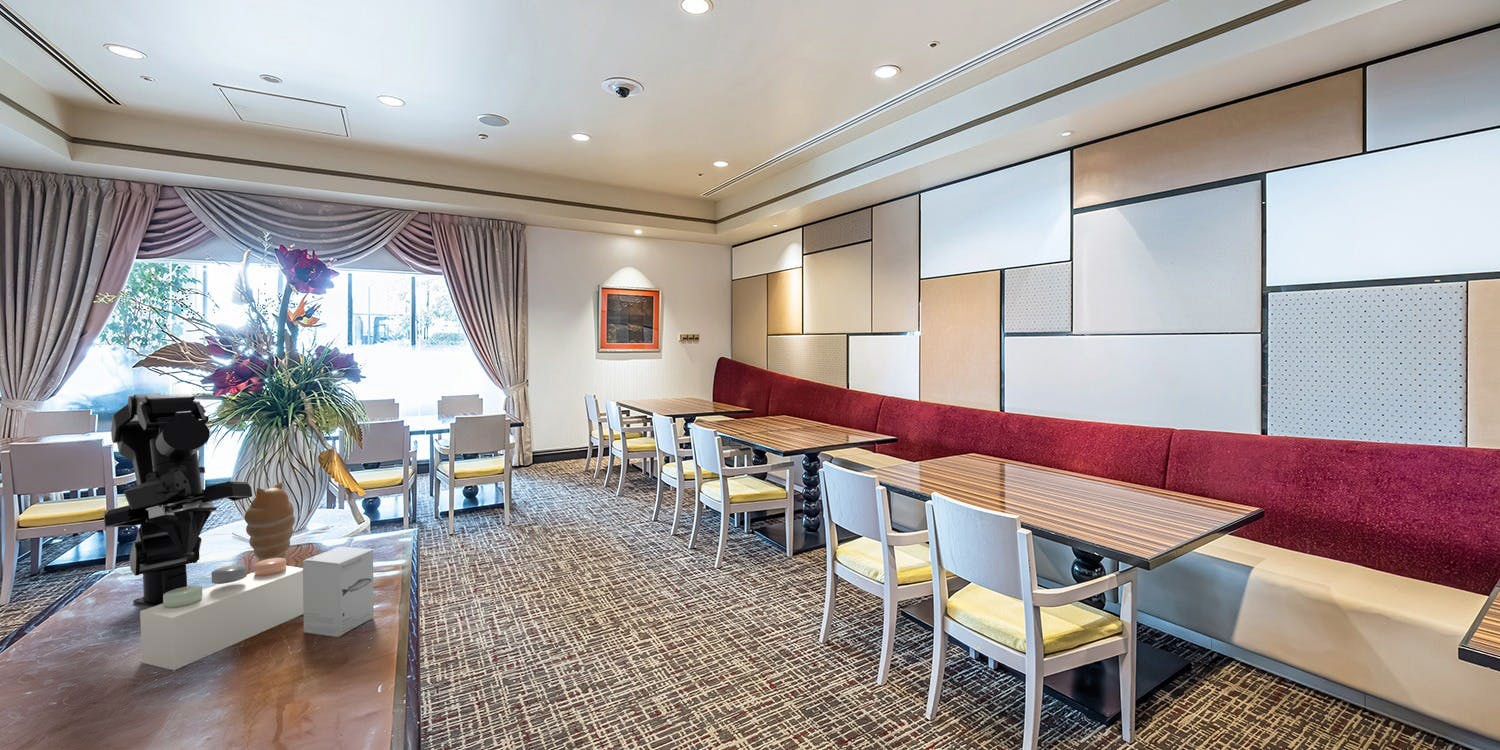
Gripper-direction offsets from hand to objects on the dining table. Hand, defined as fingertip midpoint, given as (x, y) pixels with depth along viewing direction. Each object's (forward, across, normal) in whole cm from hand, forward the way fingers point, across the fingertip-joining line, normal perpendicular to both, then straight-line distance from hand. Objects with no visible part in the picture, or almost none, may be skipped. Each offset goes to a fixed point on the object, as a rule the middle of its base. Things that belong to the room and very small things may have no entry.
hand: (186, 553), depth 100 cm
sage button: (+8, +4, -8) cm, 12 cm away
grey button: (+6, +7, -2) cm, 10 cm away
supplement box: (+19, +21, +1) cm, 28 cm away
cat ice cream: (+5, -4, +29) cm, 30 cm away
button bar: (+15, +6, -1) cm, 16 cm away
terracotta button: (+6, +10, +4) cm, 12 cm away
